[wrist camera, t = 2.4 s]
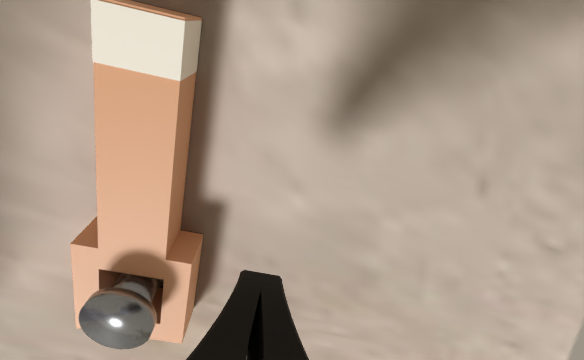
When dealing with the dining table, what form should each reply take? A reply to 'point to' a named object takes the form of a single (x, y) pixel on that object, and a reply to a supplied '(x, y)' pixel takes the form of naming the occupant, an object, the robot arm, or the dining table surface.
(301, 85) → the dining table surface
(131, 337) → the stand
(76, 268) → the link
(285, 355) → the robot arm
